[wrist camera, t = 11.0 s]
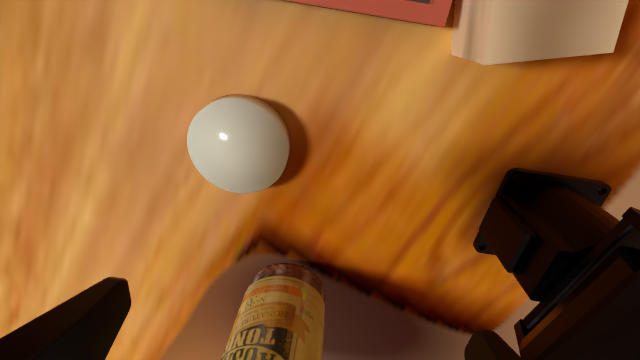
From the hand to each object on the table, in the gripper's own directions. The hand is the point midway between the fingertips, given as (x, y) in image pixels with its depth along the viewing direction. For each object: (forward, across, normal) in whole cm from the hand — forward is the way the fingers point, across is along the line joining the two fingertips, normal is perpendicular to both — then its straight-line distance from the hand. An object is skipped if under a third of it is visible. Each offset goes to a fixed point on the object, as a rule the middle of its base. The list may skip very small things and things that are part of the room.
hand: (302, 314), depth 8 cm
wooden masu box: (+13, -8, -9) cm, 18 cm away
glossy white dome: (+13, +5, +1) cm, 14 cm away
